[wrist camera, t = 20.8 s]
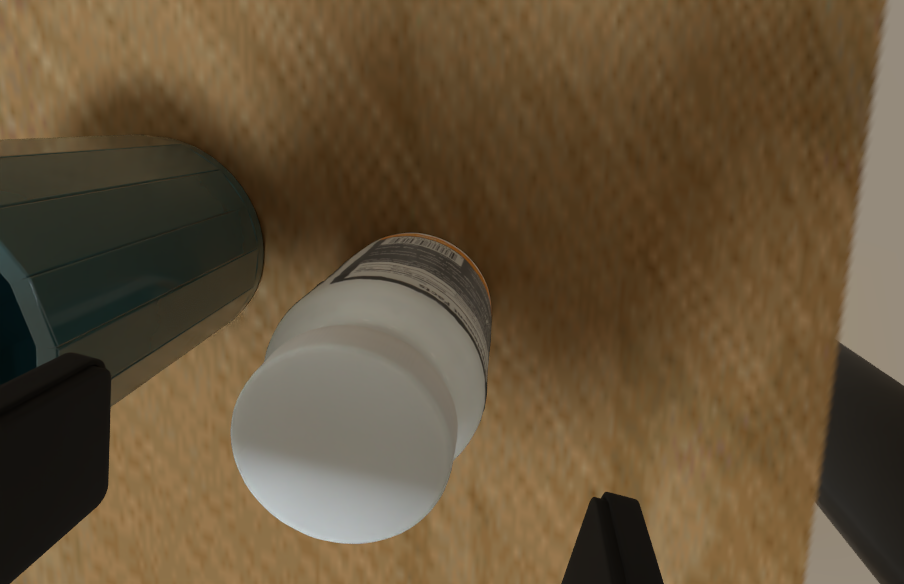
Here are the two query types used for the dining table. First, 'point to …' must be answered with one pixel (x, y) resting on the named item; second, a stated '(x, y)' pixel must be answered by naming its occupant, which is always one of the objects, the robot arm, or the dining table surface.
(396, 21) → the dining table surface
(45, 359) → the cup
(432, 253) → the pill bottle
